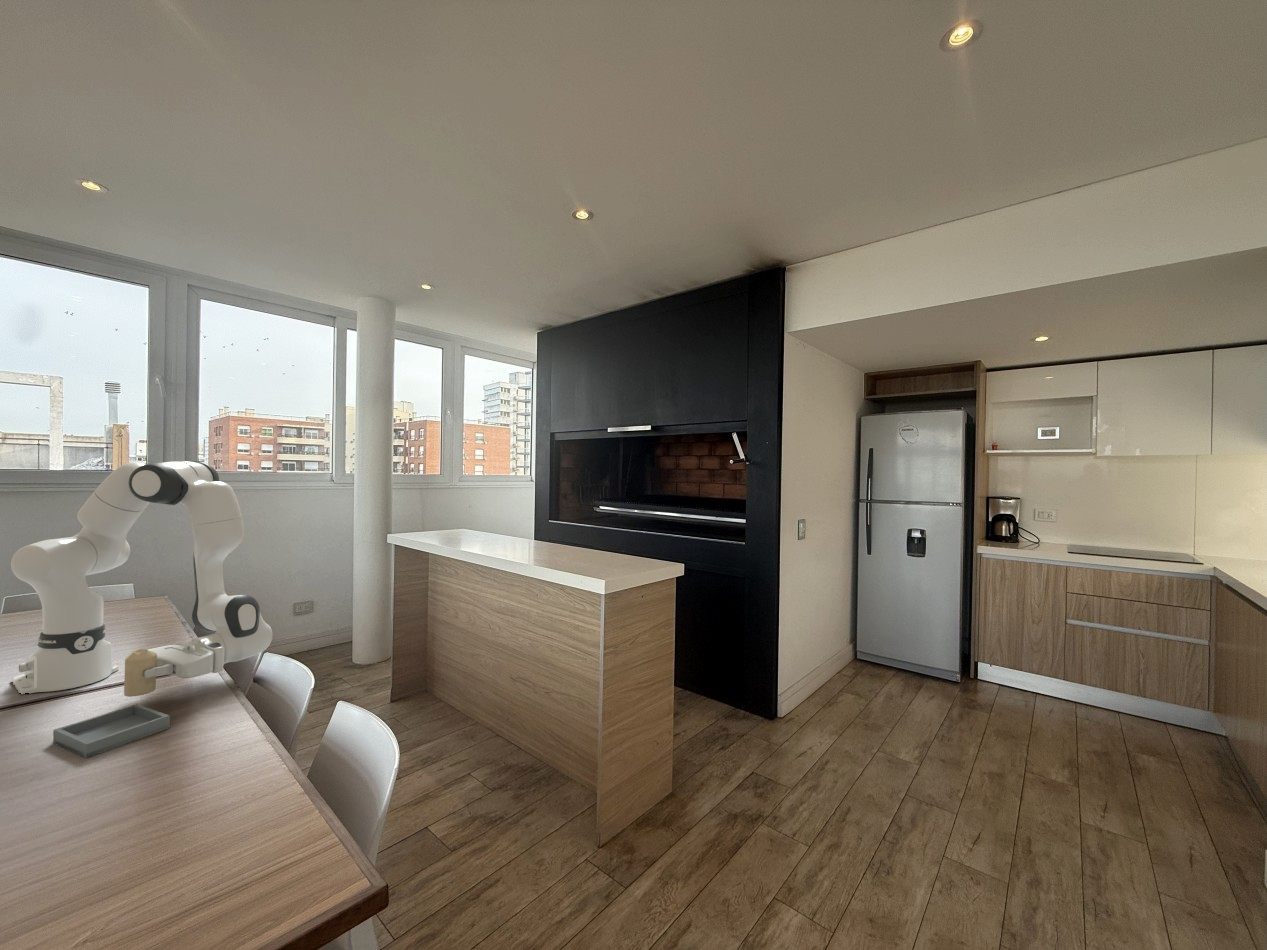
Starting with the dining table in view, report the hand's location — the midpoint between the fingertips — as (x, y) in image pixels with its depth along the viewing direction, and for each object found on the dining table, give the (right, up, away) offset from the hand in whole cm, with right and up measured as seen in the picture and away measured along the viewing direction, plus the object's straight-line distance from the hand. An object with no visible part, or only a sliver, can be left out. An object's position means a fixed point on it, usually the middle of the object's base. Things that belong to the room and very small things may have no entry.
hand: (136, 671), depth 123 cm
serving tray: (+6, -10, -11) cm, 16 cm away
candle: (0, -5, +1) cm, 5 cm away
